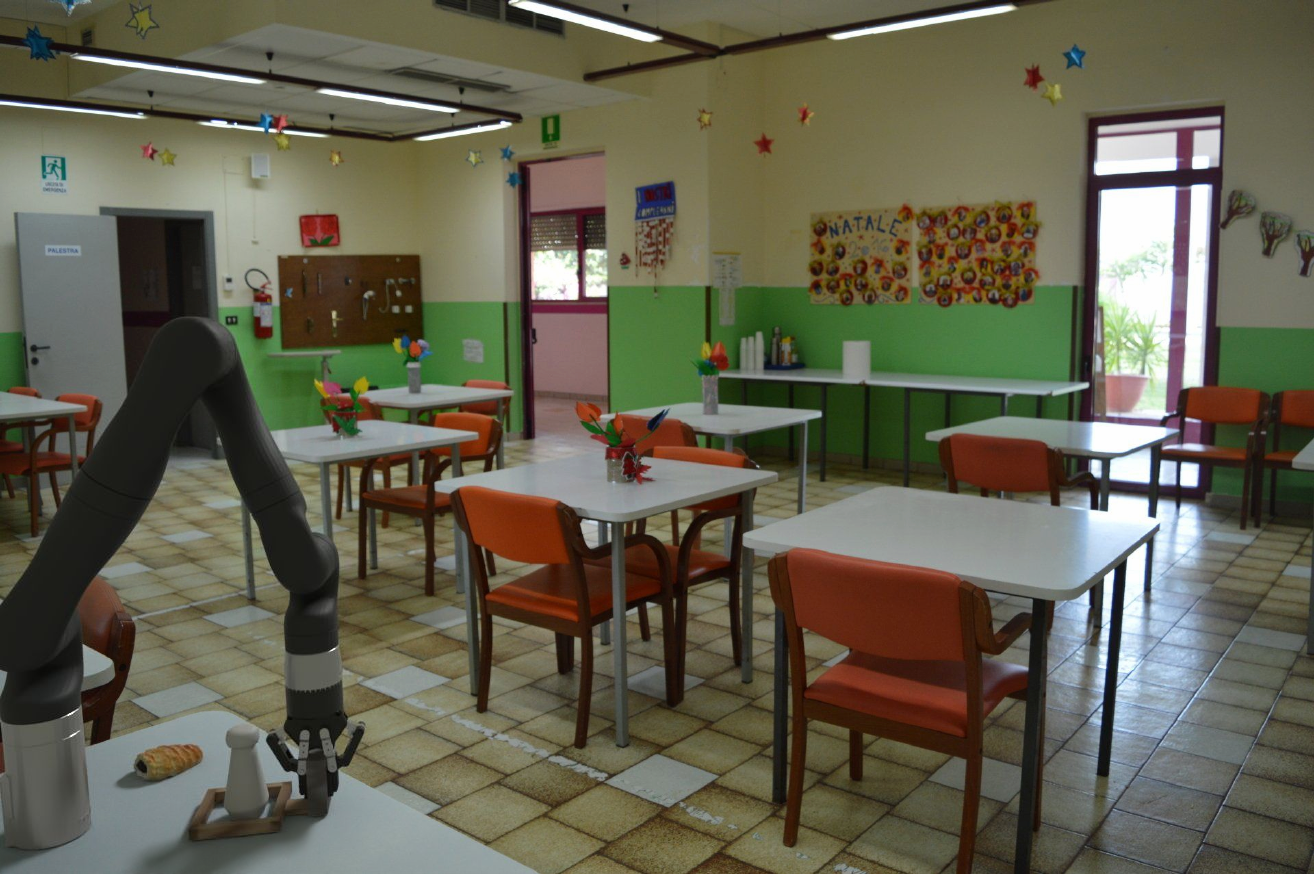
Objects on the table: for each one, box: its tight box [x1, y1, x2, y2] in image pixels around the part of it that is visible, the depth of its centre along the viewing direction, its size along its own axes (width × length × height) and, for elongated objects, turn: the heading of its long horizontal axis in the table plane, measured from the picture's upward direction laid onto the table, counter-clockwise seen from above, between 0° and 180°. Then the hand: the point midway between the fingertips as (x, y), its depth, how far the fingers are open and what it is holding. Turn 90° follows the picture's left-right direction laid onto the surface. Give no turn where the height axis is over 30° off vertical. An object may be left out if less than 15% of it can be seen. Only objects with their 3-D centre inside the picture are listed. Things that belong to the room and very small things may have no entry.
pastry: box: [133, 743, 204, 782], centre depth 154 cm, size 9×7×4 cm
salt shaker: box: [223, 723, 270, 821], centre depth 138 cm, size 6×6×13 cm
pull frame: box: [187, 749, 332, 841], centre depth 139 cm, size 17×11×8 cm, turn 102°
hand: (319, 794), depth 141 cm, fingers closed on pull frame, 2 cm apart
